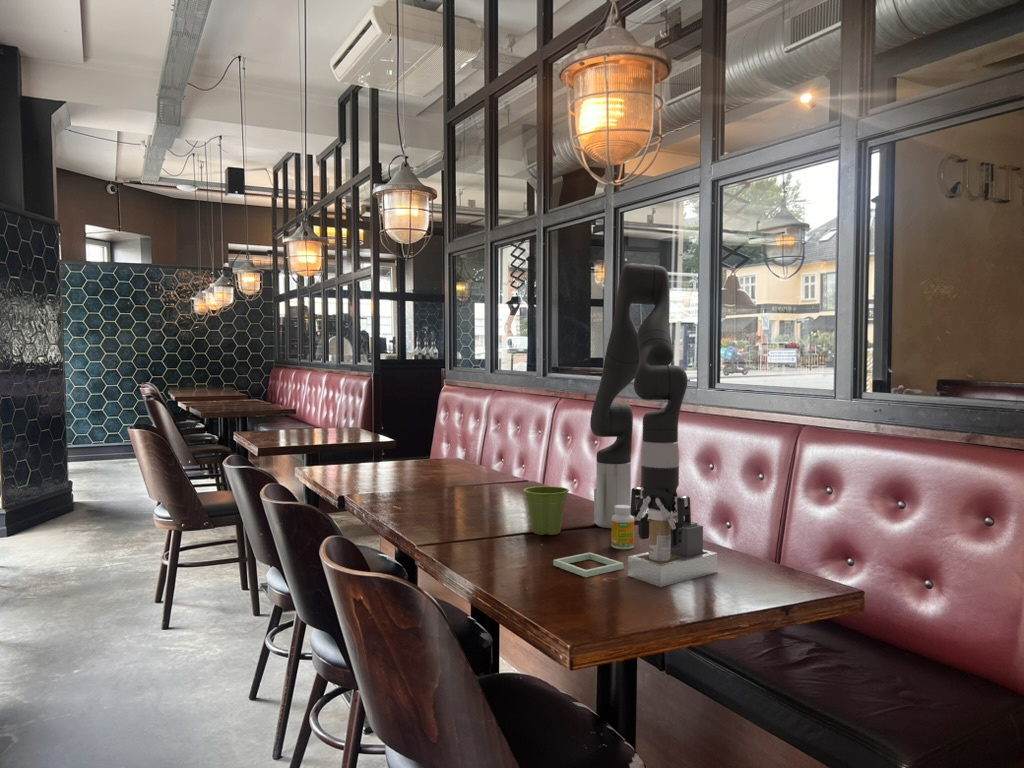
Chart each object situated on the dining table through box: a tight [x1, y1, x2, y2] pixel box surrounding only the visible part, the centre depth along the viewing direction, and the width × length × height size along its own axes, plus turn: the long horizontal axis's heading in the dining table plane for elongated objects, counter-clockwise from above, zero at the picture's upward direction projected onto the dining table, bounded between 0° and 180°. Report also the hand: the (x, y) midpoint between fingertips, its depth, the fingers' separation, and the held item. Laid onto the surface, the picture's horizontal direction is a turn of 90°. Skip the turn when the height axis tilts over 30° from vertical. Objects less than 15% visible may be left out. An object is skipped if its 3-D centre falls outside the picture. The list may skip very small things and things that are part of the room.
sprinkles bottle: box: [648, 508, 672, 564], centre depth 142 cm, size 5×5×14 cm
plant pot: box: [523, 485, 570, 536], centre depth 181 cm, size 12×12×11 cm
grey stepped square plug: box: [670, 519, 704, 558], centre depth 147 cm, size 5×5×10 cm
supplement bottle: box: [610, 505, 635, 550], centre depth 166 cm, size 5×5×10 cm
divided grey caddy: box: [627, 549, 718, 588], centre depth 144 cm, size 9×17×4 cm, turn 125°
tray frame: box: [552, 552, 624, 578], centre depth 150 cm, size 11×11×1 cm
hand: (659, 542), depth 142 cm, fingers open, 8 cm apart
